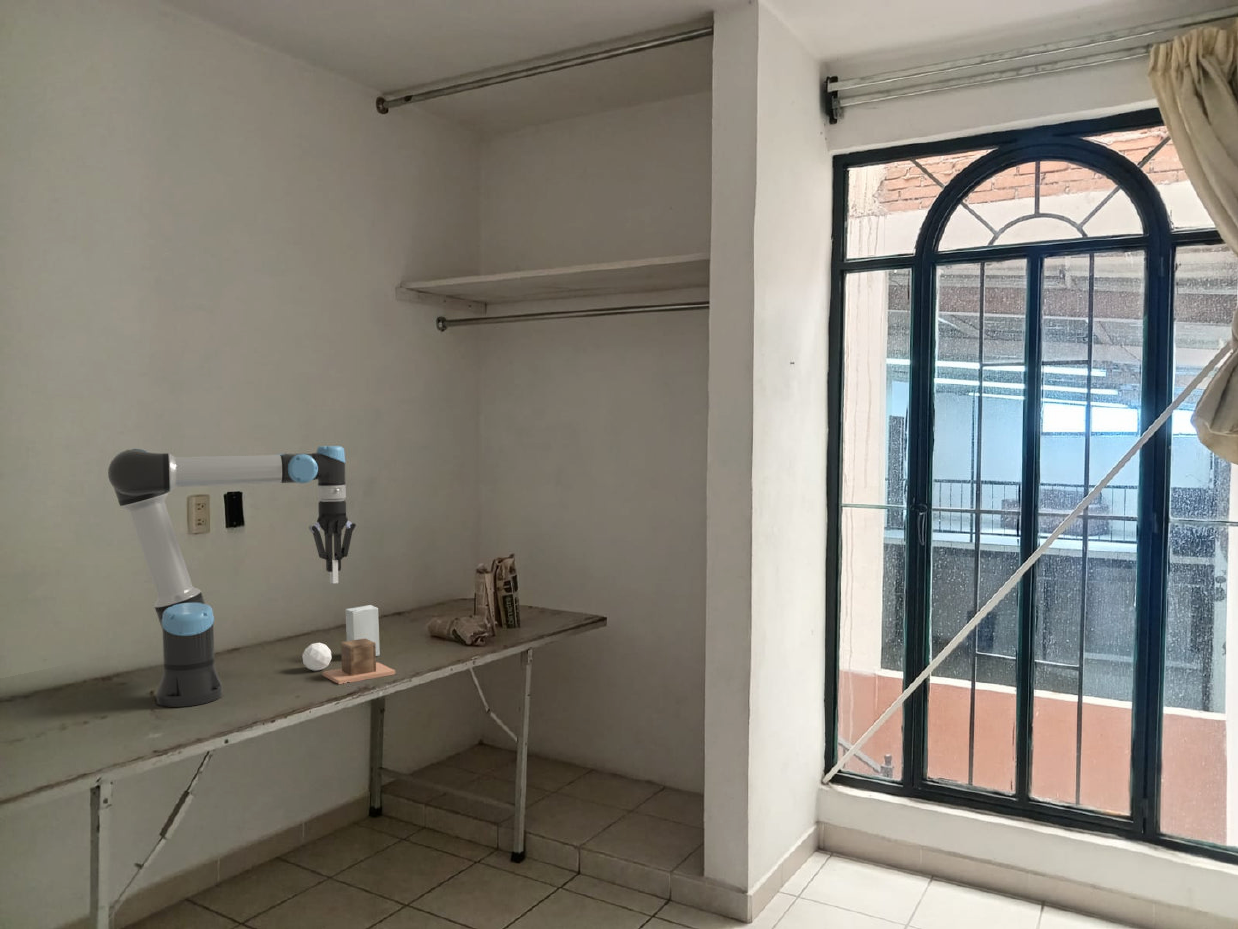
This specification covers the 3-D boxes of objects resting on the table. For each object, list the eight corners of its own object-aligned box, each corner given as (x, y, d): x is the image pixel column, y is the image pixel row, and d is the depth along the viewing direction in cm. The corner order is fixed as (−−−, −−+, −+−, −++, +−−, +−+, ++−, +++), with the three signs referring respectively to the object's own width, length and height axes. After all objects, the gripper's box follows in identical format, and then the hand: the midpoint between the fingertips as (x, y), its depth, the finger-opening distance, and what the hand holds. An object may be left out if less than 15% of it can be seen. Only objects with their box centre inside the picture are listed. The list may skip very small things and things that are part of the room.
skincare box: (372, 652, 276) (371, 604, 275) (380, 656, 271) (379, 607, 271) (345, 657, 271) (344, 607, 270) (353, 661, 266) (352, 610, 266)
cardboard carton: (351, 675, 246) (350, 646, 245) (341, 670, 251) (341, 642, 251) (376, 671, 250) (375, 642, 250) (365, 666, 255) (365, 638, 255)
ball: (310, 679, 257) (301, 654, 260) (338, 666, 259) (328, 642, 262) (305, 672, 250) (295, 646, 253) (333, 659, 253) (323, 634, 256)
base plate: (339, 684, 241) (338, 680, 241) (322, 675, 250) (322, 671, 250) (395, 674, 251) (395, 670, 251) (377, 665, 260) (377, 662, 260)
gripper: (314, 502, 250) (316, 587, 251) (359, 499, 258) (361, 581, 259) (304, 500, 256) (306, 583, 257) (349, 498, 264) (351, 578, 265)
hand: (334, 582), depth 258 cm, fingers closed
